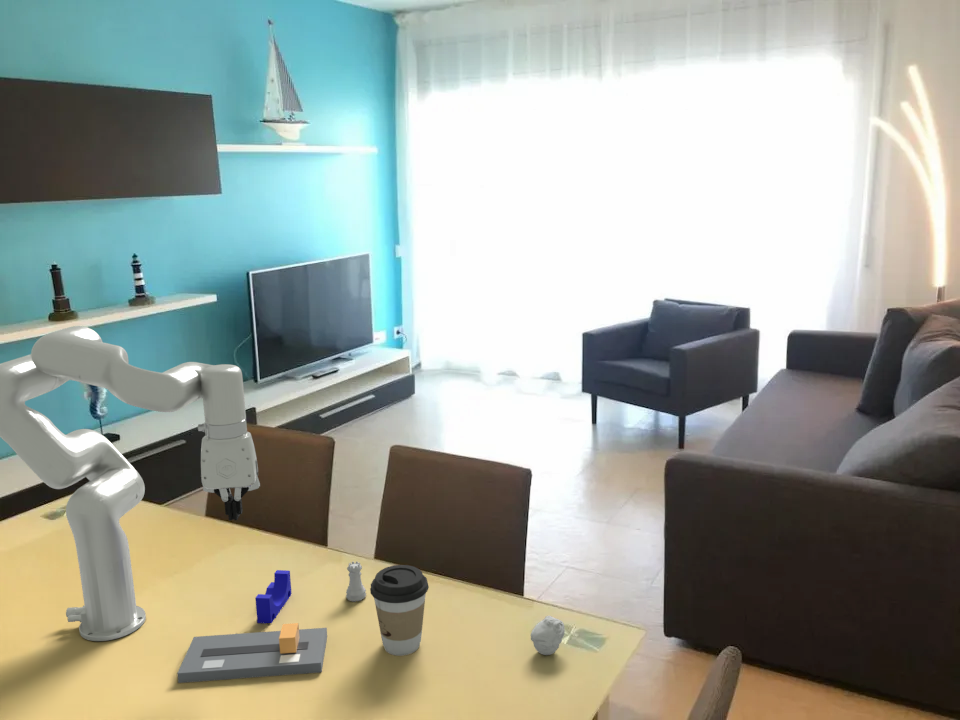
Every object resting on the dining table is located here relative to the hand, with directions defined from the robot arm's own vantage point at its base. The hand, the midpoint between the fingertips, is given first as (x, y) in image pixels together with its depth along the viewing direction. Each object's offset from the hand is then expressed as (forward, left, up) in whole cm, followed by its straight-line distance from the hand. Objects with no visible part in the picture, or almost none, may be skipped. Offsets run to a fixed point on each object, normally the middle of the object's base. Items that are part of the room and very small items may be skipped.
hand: (234, 517), depth 155 cm
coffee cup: (+32, -9, -25) cm, 42 cm away
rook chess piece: (+22, +11, -25) cm, 35 cm away
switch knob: (+11, -10, -23) cm, 27 cm away
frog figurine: (+60, -15, -25) cm, 67 cm away
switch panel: (+4, -10, -25) cm, 27 cm away
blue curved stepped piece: (+4, +9, -26) cm, 27 cm away
